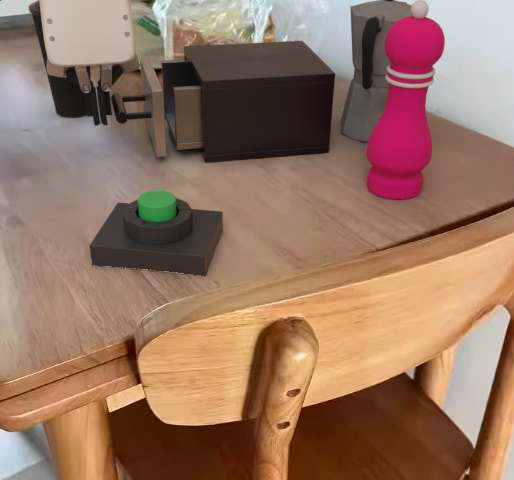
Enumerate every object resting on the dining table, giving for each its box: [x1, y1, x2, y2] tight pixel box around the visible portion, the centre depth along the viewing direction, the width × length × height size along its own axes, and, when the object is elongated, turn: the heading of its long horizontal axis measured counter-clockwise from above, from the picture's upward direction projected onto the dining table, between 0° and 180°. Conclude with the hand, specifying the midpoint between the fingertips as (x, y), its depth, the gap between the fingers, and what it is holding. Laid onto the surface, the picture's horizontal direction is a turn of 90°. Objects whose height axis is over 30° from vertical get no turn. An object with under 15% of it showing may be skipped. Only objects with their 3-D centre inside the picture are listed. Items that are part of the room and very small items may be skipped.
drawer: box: [110, 56, 203, 158], centre depth 91 cm, size 19×13×8 cm
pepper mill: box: [365, 0, 446, 200], centre depth 78 cm, size 7×7×20 cm
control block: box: [89, 197, 224, 277], centre depth 71 cm, size 11×9×4 cm
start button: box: [137, 189, 177, 222], centre depth 70 cm, size 4×4×2 cm
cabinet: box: [183, 40, 336, 164], centre depth 92 cm, size 16×14×10 cm
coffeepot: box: [339, 0, 412, 144], centre depth 91 cm, size 15×9×18 cm, turn 158°
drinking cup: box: [28, 0, 92, 118], centre depth 95 cm, size 8×8×20 cm
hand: (100, 121), depth 90 cm, fingers closed
